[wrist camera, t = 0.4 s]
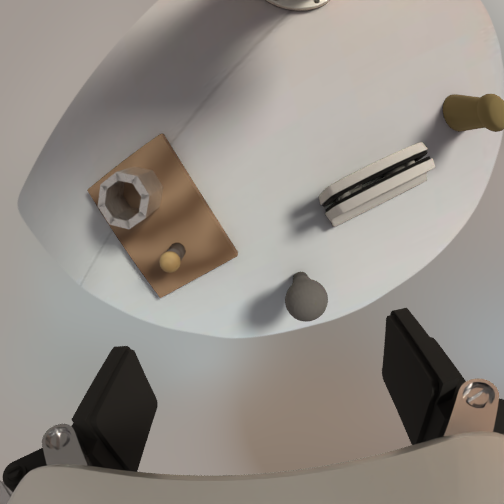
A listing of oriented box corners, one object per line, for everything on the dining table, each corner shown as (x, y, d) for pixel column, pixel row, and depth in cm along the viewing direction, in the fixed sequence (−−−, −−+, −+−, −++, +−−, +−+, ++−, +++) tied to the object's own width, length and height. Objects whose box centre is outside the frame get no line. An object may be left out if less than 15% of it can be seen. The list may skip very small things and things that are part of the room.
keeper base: (91, 188, 43) (67, 198, 36) (163, 133, 40) (146, 134, 33) (162, 293, 49) (149, 317, 42) (237, 252, 46) (234, 272, 39)
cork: (440, 92, 37) (483, 87, 26) (469, 96, 36) (512, 93, 26) (444, 130, 39) (487, 133, 28) (472, 132, 38) (516, 137, 28)
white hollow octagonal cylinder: (109, 185, 41) (89, 193, 36) (145, 158, 40) (128, 162, 34) (134, 224, 43) (117, 237, 38) (171, 199, 42) (158, 209, 36)
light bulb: (294, 299, 49) (302, 336, 39) (274, 273, 47) (278, 307, 38) (324, 280, 48) (339, 314, 38) (305, 252, 46) (316, 282, 37)
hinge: (331, 228, 45) (337, 226, 35) (316, 199, 45) (318, 189, 35) (425, 181, 42) (451, 168, 32) (410, 153, 42) (434, 134, 32)
